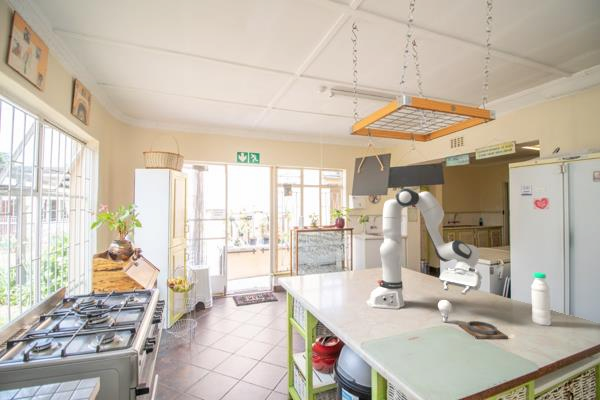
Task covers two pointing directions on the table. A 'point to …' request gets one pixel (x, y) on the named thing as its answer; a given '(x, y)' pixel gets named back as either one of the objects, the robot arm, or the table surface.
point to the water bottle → (540, 300)
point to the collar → (482, 330)
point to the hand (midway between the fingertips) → (454, 291)
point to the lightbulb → (445, 309)
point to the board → (482, 336)
